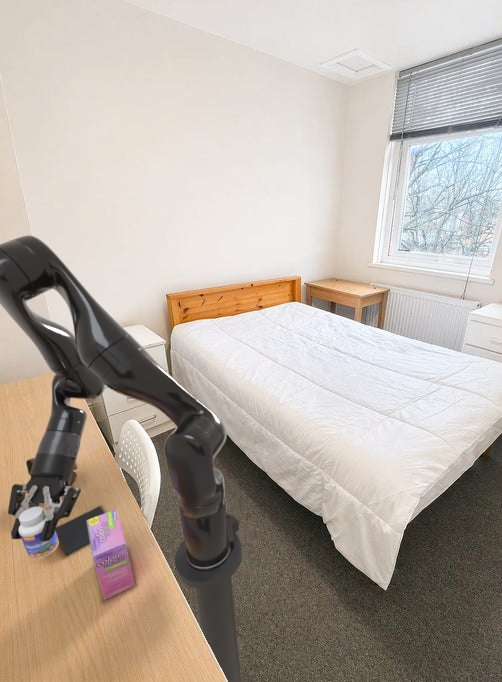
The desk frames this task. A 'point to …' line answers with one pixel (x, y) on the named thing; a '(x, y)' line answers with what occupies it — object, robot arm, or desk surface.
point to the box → (110, 553)
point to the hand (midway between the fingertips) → (31, 539)
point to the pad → (76, 531)
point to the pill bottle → (35, 533)
